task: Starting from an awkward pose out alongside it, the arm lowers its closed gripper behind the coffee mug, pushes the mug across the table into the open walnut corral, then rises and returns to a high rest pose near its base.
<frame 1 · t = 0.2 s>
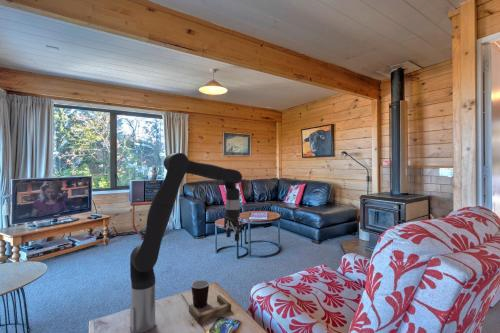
hand: (232, 238, 130), 29 cm above the table, fingers open, 8 cm apart
coffee mug: (200, 303, 121), on the table
walnut corral: (210, 311, 113), on the table
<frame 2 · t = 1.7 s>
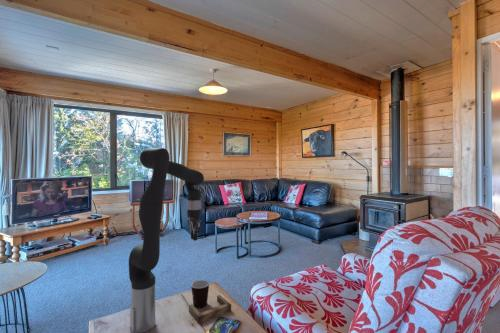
hand: (194, 239, 136), 27 cm above the table, fingers closed
nothing on the table moved.
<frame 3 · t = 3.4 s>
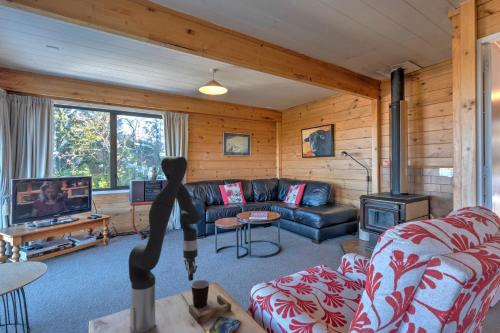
hand: (190, 280, 133), 6 cm above the table, fingers closed
nothing on the table moved.
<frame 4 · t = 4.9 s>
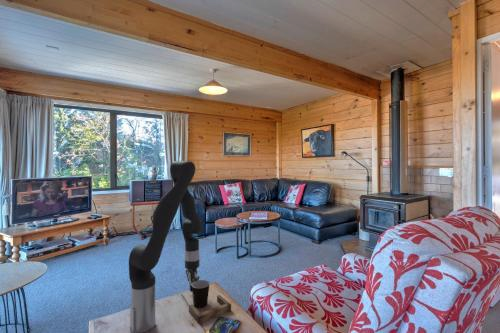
hand: (192, 290, 130), 2 cm above the table, fingers closed
coffee mug: (201, 303, 121), on the table, touching hand
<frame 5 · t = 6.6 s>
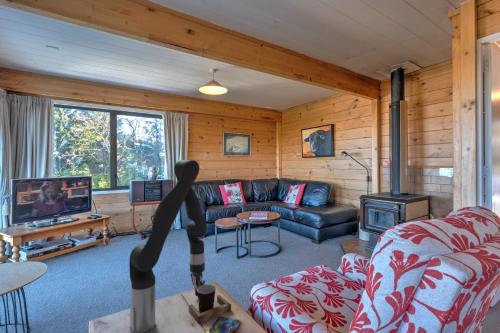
hand: (197, 295, 125), 2 cm above the table, fingers closed
coffee mug: (207, 309, 116), on the table, touching hand
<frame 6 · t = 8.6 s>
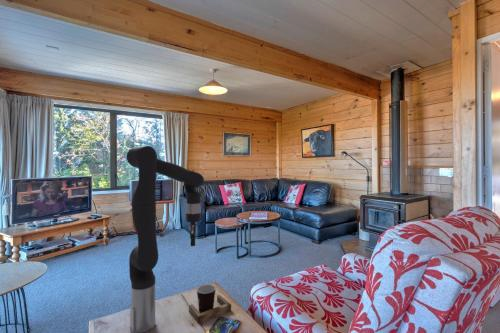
hand: (192, 245, 127), 26 cm above the table, fingers closed
coffee mug: (206, 309, 116), on the table
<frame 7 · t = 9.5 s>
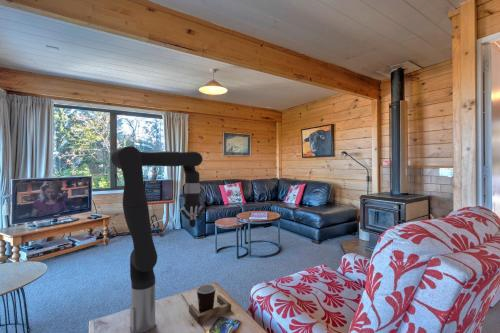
hand: (192, 227, 122), 37 cm above the table, fingers closed
nothing on the table moved.
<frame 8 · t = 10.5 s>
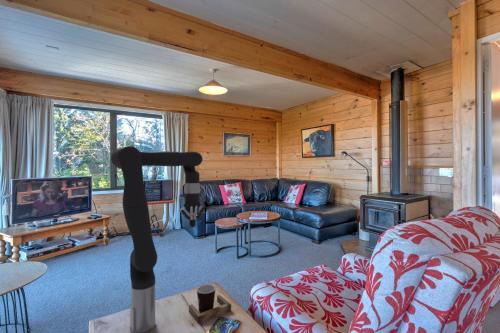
hand: (192, 227, 122), 37 cm above the table, fingers closed
nothing on the table moved.
at the end: coffee mug inside the target area (1.4 cm from its centre), on the table; coffee mug tilted 0°; coffee mug moved 6.1 cm from its start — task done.
